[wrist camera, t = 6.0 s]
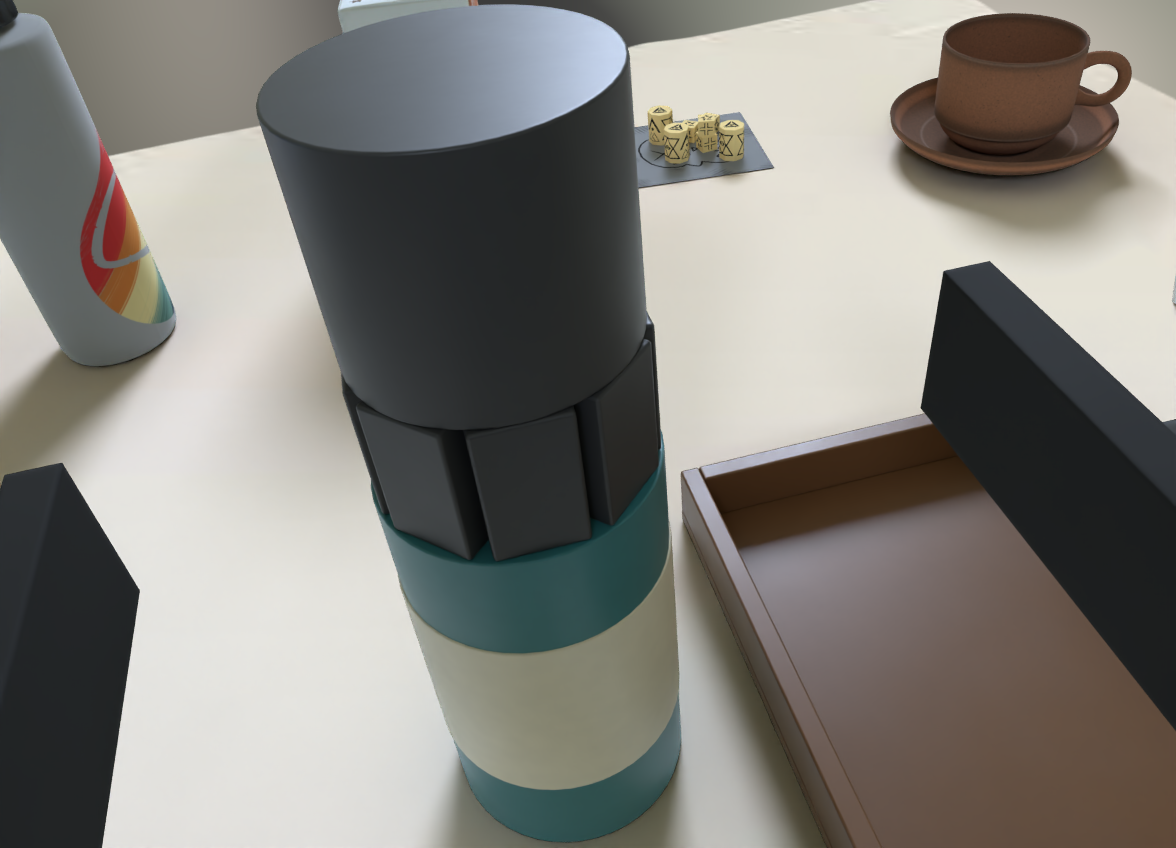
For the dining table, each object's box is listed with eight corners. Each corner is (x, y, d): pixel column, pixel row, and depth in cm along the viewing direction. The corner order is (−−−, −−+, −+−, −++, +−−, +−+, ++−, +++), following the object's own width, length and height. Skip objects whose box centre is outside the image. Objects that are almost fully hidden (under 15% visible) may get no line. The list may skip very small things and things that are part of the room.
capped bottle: (478, 873, 28) (341, 496, 18) (447, 674, 33) (327, 296, 23) (713, 807, 28) (705, 412, 19) (646, 622, 34) (613, 237, 24)
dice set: (747, 159, 58) (747, 128, 57) (661, 171, 58) (660, 141, 57) (726, 124, 62) (726, 94, 61) (647, 135, 62) (645, 106, 61)
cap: (390, 589, 20) (250, 186, 14) (369, 399, 25) (257, 39, 19) (692, 516, 21) (677, 104, 15) (615, 345, 26) (580, -17, 20)
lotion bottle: (201, 309, 51) (22, -116, 38) (130, 376, 47) (-97, -73, 34) (115, 297, 53) (-84, -114, 40) (39, 360, 49) (-209, -73, 36)
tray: (899, 1012, 24) (911, 973, 22) (681, 518, 37) (679, 470, 35) (1362, 867, 26) (1405, 820, 24) (997, 441, 39) (1009, 392, 37)
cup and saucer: (1043, 89, 62) (1065, -14, 58) (1155, 175, 53) (1190, 61, 49) (857, 118, 61) (866, 17, 57) (938, 211, 52) (955, 97, 48)
